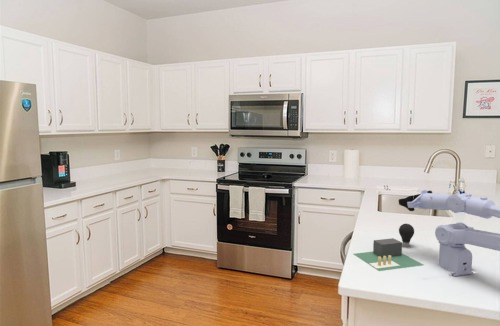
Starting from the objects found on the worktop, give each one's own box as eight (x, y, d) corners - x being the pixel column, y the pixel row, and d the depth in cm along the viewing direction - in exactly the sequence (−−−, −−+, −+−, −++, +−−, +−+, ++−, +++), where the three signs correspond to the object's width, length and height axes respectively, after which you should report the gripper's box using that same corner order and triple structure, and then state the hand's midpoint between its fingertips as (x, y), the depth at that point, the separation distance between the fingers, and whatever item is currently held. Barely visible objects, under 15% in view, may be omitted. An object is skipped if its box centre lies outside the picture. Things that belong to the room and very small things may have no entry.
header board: (424, 267, 119) (424, 256, 119) (378, 273, 115) (379, 262, 114) (393, 251, 135) (394, 241, 134) (352, 256, 130) (353, 246, 130)
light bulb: (409, 245, 141) (410, 221, 140) (416, 250, 136) (417, 225, 134) (395, 245, 141) (396, 222, 140) (402, 250, 135) (403, 226, 134)
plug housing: (401, 255, 128) (402, 242, 127) (381, 258, 126) (381, 244, 125) (392, 250, 133) (393, 238, 132) (373, 253, 130) (373, 240, 130)
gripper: (449, 186, 125) (418, 186, 138) (419, 194, 120) (390, 193, 132) (452, 205, 125) (422, 203, 138) (423, 214, 120) (394, 211, 132)
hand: (406, 199), depth 135 cm, fingers open, 7 cm apart
